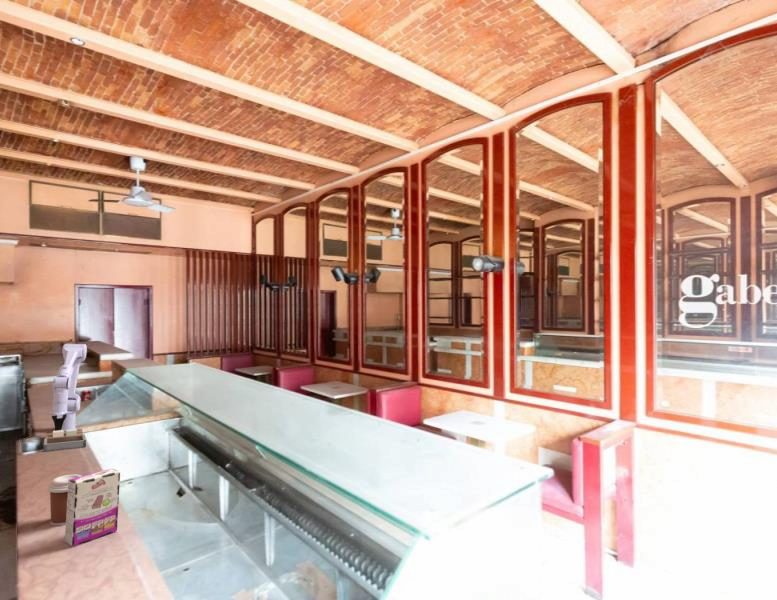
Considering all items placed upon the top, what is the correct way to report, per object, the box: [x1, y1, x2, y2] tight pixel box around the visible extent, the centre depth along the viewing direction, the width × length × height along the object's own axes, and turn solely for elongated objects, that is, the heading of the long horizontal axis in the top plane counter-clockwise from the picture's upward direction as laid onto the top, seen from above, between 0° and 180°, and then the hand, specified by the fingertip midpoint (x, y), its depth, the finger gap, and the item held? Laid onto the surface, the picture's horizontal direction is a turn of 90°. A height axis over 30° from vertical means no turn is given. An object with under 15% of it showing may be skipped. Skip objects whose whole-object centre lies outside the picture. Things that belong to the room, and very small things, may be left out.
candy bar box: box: [64, 468, 121, 548], centre depth 119 cm, size 11×5×16 cm, turn 148°
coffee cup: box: [46, 473, 82, 527], centre depth 128 cm, size 9×9×12 cm
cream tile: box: [52, 430, 64, 437], centre depth 205 cm, size 4×4×2 cm
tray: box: [43, 433, 87, 453], centre depth 198 cm, size 12×15×3 cm
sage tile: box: [66, 428, 78, 436], centre depth 208 cm, size 4×4×2 cm
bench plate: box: [45, 428, 84, 444], centre depth 209 cm, size 14×14×2 cm
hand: (58, 430), depth 211 cm, fingers closed
